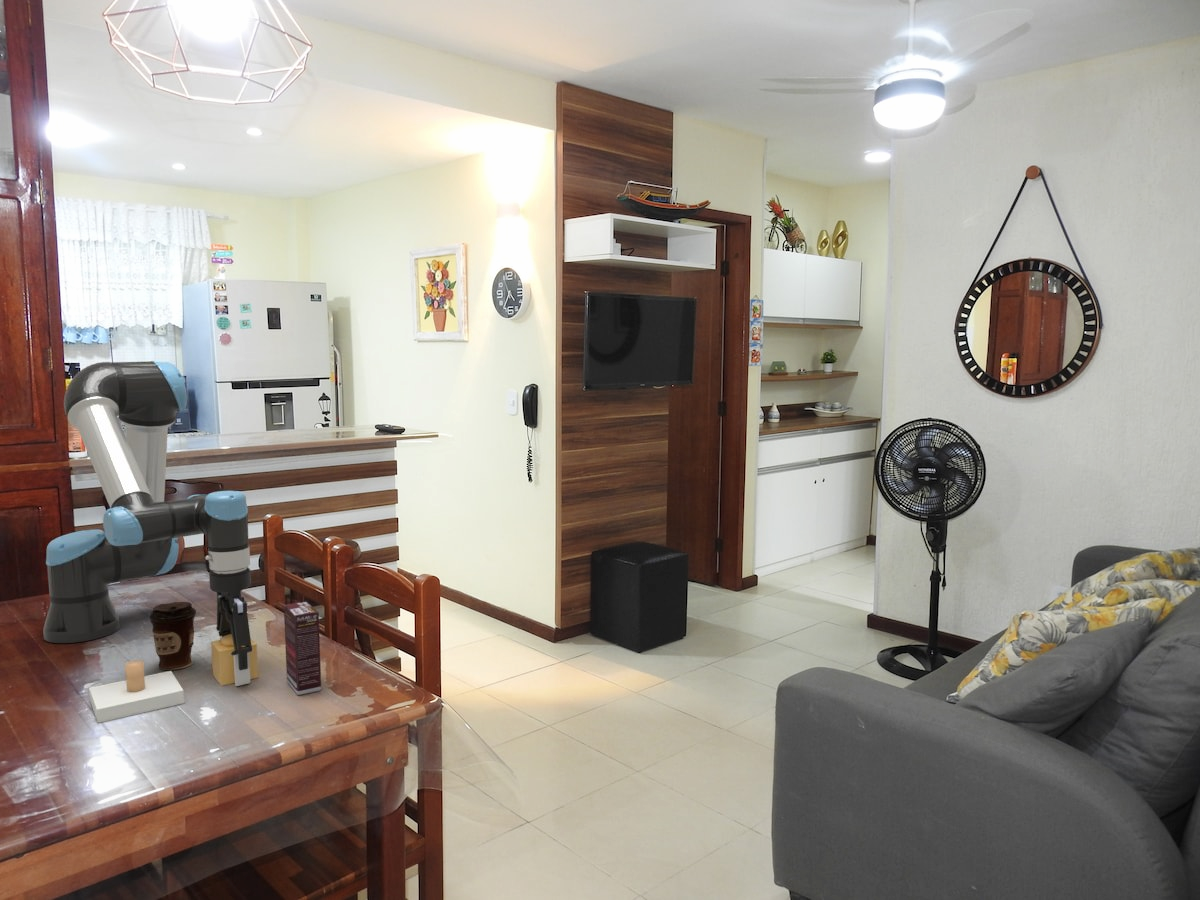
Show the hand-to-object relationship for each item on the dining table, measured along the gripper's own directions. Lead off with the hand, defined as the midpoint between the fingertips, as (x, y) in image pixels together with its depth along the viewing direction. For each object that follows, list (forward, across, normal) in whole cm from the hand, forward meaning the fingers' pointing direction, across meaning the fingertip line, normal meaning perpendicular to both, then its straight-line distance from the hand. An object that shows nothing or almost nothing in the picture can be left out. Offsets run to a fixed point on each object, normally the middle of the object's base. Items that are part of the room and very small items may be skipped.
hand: (235, 675), depth 170 cm
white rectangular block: (0, +2, -18) cm, 18 cm away
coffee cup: (0, -14, -9) cm, 16 cm away
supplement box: (0, +13, +10) cm, 16 cm away
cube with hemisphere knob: (0, 0, 0) cm, 0 cm away
